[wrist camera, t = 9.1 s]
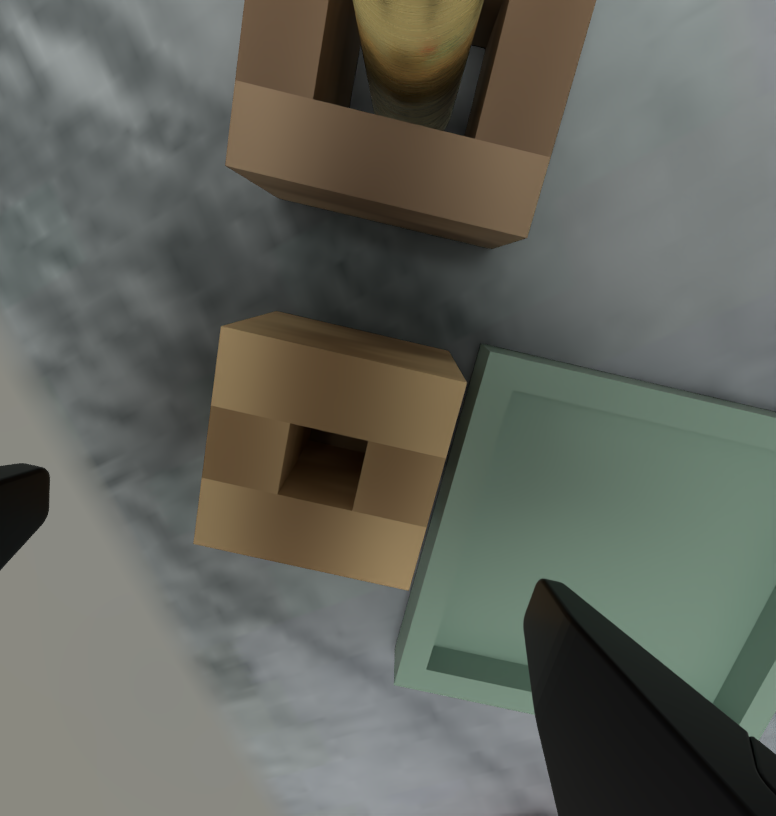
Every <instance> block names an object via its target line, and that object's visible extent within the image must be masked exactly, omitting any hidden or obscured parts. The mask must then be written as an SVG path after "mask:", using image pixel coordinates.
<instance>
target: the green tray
mask: <svg viewBox="0 0 776 816" xmlns="http://www.w3.org/2000/svg"><path fill="white" fill-rule="evenodd" d="M542 578H544V579H549V580H554V581H558V582H561V583H564V584H565V585H566V586H567V587H569V588H570V589H571V590H572V591H574V592H575V593H576V594H577V595H579V596H580V597H581V598H582V599H584V600H585V601H586V602H587V603H589V604H590V605H591V606H592V607H593V608H595V609H596V610H597V611H598V612H600V613H601V614H602V615H603V616H605V617H606V618H607V619H608V620H610V621H611V622H612V623H613V624H615V625H616V626H617V627H618V628H620V629H621V630H622V631H623V632H624V633H626V634H627V635H628V636H629V637H631V638H632V639H633V640H634V641H636V642H637V643H638V644H639V645H641V646H642V647H643V648H644V649H646V650H647V651H648V652H649V653H651V654H652V655H653V656H654V657H655V658H657V659H658V660H659V661H660V662H662V663H663V664H664V665H665V666H667V667H668V668H669V669H670V670H672V671H673V672H674V673H675V674H677V675H678V676H679V677H680V678H681V679H683V680H684V681H685V682H686V683H688V684H689V685H690V686H691V687H693V688H694V689H695V690H696V691H698V692H699V693H700V694H701V695H703V696H704V697H705V698H706V699H708V700H709V701H710V702H711V703H712V704H714V705H715V706H716V707H717V708H719V709H720V710H721V711H722V712H724V713H725V714H726V715H727V716H729V717H730V718H731V719H732V720H734V721H735V722H736V723H737V724H739V725H740V726H741V727H742V728H743V729H745V730H746V731H747V732H748V734H749V737H750V736H753V737H755V738H756V739H757V740H759V739H760V737H761V736H762V734H763V732H764V730H765V729H766V727H767V725H768V724H769V722H770V720H771V718H772V717H773V715H774V713H775V712H776V412H774V411H769V410H765V409H761V408H757V407H752V406H748V405H744V404H739V403H735V402H731V401H726V400H722V399H718V398H714V397H709V396H705V395H701V394H696V393H692V392H688V391H684V390H679V389H675V388H671V387H666V386H662V385H658V384H654V383H649V382H645V381H641V380H636V379H632V378H628V377H623V376H619V375H615V374H611V373H606V372H602V371H598V370H593V369H589V368H585V367H581V366H576V365H572V364H568V363H563V362H559V361H555V360H550V359H546V358H542V357H538V356H533V355H529V354H525V353H520V352H516V351H512V350H508V349H503V348H499V347H495V346H490V345H486V344H482V343H481V345H480V348H479V352H478V355H477V359H476V363H475V366H474V370H473V373H472V377H471V380H470V384H469V387H468V391H467V395H466V398H465V402H464V405H463V409H462V412H461V416H460V419H459V423H458V426H457V430H456V434H455V437H454V441H453V444H452V448H451V451H450V455H449V458H448V462H447V465H446V469H445V473H444V476H443V480H442V483H441V487H440V490H439V494H438V497H437V501H436V505H435V508H434V512H433V515H432V519H431V522H430V526H429V529H428V533H427V536H426V540H425V544H424V547H423V551H422V554H421V558H420V561H419V565H418V568H417V572H416V576H415V579H414V583H413V586H412V590H411V593H410V597H409V600H408V604H407V607H406V611H405V615H404V618H403V622H402V625H401V629H400V632H399V636H398V639H397V643H396V646H395V663H394V685H396V686H401V687H406V688H411V689H415V690H420V691H425V692H430V693H434V694H439V695H444V696H448V697H453V698H458V699H463V700H467V701H472V702H477V703H481V704H486V705H491V706H496V707H500V708H505V709H510V710H515V711H519V712H524V713H529V714H533V715H535V713H534V707H533V700H532V693H531V685H530V677H529V670H528V662H527V654H526V646H525V638H524V631H523V620H524V615H525V612H526V609H527V607H528V604H529V601H530V598H531V596H532V593H533V590H534V587H535V585H536V583H537V582H538V580H540V579H542Z"/></svg>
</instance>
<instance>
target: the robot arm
mask: <svg viewBox="0 0 776 816" xmlns="http://www.w3.org/2000/svg"><path fill="white" fill-rule="evenodd" d="M49 489H50V477H49V472H48V471H47V470H46V469H45V468H42V467H38V466H34V465H29V464H24V463H19V464H12V465H5V466H0V570H1V569H2V568H3V567H4V566H5V564H6V563H7V562H8V561H9V560H10V559H11V558H12V557H13V556H14V555H15V553H16V552H17V551H18V550H19V549H20V548H21V547H22V546H23V545H24V544H25V543H26V542H27V540H28V539H29V538H30V537H31V536H32V535H33V534H34V533H35V532H36V531H37V530H38V528H39V527H40V526H41V525H42V524H43V523H44V521H45V519H46V517H47V515H48V511H49ZM523 631H524V638H525V646H526V654H527V662H528V670H529V677H530V685H531V693H532V700H533V707H534V713H535V718H536V722H537V727H538V731H539V736H540V740H541V744H542V748H543V753H544V757H545V761H546V765H547V770H548V774H549V778H550V782H551V786H552V791H553V795H554V799H555V803H556V808H557V812H558V816H776V754H775V753H773V752H772V751H771V750H770V749H768V748H767V747H766V746H765V745H763V744H762V743H761V742H760V741H759V740H757V739H756V738H755V737H753V736H750V737H749V734H748V732H747V731H746V730H745V729H743V728H742V727H741V726H740V725H739V724H737V723H736V722H735V721H734V720H732V719H731V718H730V717H729V716H727V715H726V714H725V713H724V712H722V711H721V710H720V709H719V708H717V707H716V706H715V705H714V704H712V703H711V702H710V701H709V700H708V699H706V698H705V697H704V696H703V695H701V694H700V693H699V692H698V691H696V690H695V689H694V688H693V687H691V686H690V685H689V684H688V683H686V682H685V681H684V680H683V679H681V678H680V677H679V676H678V675H677V674H675V673H674V672H673V671H672V670H670V669H669V668H668V667H667V666H665V665H664V664H663V663H662V662H660V661H659V660H658V659H657V658H655V657H654V656H653V655H652V654H651V653H649V652H648V651H647V650H646V649H644V648H643V647H642V646H641V645H639V644H638V643H637V642H636V641H634V640H633V639H632V638H631V637H629V636H628V635H627V634H626V633H624V632H623V631H622V630H621V629H620V628H618V627H617V626H616V625H615V624H613V623H612V622H611V621H610V620H608V619H607V618H606V617H605V616H603V615H602V614H601V613H600V612H598V611H597V610H596V609H595V608H593V607H592V606H591V605H590V604H589V603H587V602H586V601H585V600H584V599H582V598H581V597H580V596H579V595H577V594H576V593H575V592H574V591H572V590H571V589H570V588H569V587H567V586H566V585H565V584H564V583H561V582H558V581H554V580H549V579H544V578H542V579H540V580H538V582H537V583H536V585H535V587H534V590H533V593H532V596H531V598H530V601H529V604H528V607H527V609H526V612H525V615H524V620H523Z"/></svg>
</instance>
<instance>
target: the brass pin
mask: <svg viewBox="0 0 776 816" xmlns="http://www.w3.org/2000/svg"><path fill="white" fill-rule="evenodd" d="M483 2H484V0H353V5H354V10H355V15H356V21H357V26H358V31H359V36H360V42H361V47H362V52H363V57H364V62H365V68H366V73H367V78H368V83H369V88H370V94H371V99H372V104H373V109H374V114H375V115H379V116H384V117H388V118H392V119H396V120H400V121H404V122H408V123H412V124H416V125H420V126H424V127H428V128H433V129H437V130H441V131H444V129H445V128H446V126H447V124H448V122H449V120H450V117H451V114H452V110H453V107H454V103H455V100H456V96H457V93H458V89H459V86H460V82H461V79H462V75H463V72H464V68H465V65H466V61H467V58H468V54H469V51H470V47H471V44H472V40H473V37H474V33H475V30H476V26H477V23H478V19H479V16H480V12H481V9H482V5H483Z"/></svg>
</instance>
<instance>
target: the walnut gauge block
mask: <svg viewBox="0 0 776 816" xmlns="http://www.w3.org/2000/svg"><path fill="white" fill-rule="evenodd" d="M595 3H596V0H484V2H483V5H482V9H481V12H480V16H479V19H478V23H477V26H476V30H475V33H474V37H473V40H472V44H471V45H475V46H479V47H483V48H486V50H485V54H484V58H483V62H482V67H481V71H480V75H479V79H478V83H477V87H476V91H475V95H474V100H473V104H472V108H471V112H470V116H469V120H468V124H467V128H466V133H465V136H461V135H457V134H453V133H449V132H445V131H441V130H437V129H433V128H428V127H424V126H420V125H416V124H412V123H408V122H404V121H400V120H396V119H392V118H388V117H384V116H379V115H375V114H371V113H367V112H363V111H359V110H355V109H351V108H349V105H350V100H351V94H352V89H353V83H354V77H355V72H356V66H357V61H358V55H359V49H360V44H361V42H360V36H359V31H358V26H357V21H356V15H355V10H354V5H353V0H245V2H244V11H243V19H242V28H241V36H240V45H239V53H238V61H237V70H236V78H235V87H234V95H233V104H232V112H231V121H230V129H229V138H228V146H227V155H226V163H225V166H227V167H228V168H230V169H232V170H233V171H235V172H236V173H238V174H240V175H241V176H243V177H245V178H246V179H248V180H249V181H251V182H253V183H254V184H256V185H258V186H259V187H261V188H263V189H264V190H266V191H267V192H269V193H271V194H272V195H274V196H276V197H277V198H279V199H284V200H288V201H292V202H296V203H300V204H304V205H309V206H313V207H317V208H321V209H325V210H330V211H334V212H338V213H342V214H346V215H351V216H355V217H359V218H363V219H367V220H372V221H376V222H380V223H384V224H388V225H392V226H397V227H401V228H405V229H409V230H413V231H418V232H422V233H426V234H430V235H434V236H439V237H443V238H447V239H451V240H455V241H460V242H464V243H468V244H472V245H476V246H480V247H485V248H489V249H493V248H497V247H500V246H503V245H506V244H509V243H513V242H516V241H519V240H522V239H525V238H527V237H528V233H529V230H530V226H531V223H532V219H533V216H534V212H535V209H536V206H537V202H538V199H539V195H540V192H541V188H542V185H543V182H544V178H545V175H546V171H547V168H548V164H549V161H550V157H551V154H552V151H553V147H554V144H555V140H556V137H557V133H558V130H559V127H560V123H561V120H562V116H563V113H564V109H565V106H566V102H567V99H568V96H569V92H570V89H571V85H572V82H573V78H574V75H575V72H576V68H577V65H578V61H579V58H580V54H581V51H582V47H583V44H584V41H585V37H586V34H587V30H588V27H589V23H590V20H591V17H592V13H593V10H594V6H595Z"/></svg>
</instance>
